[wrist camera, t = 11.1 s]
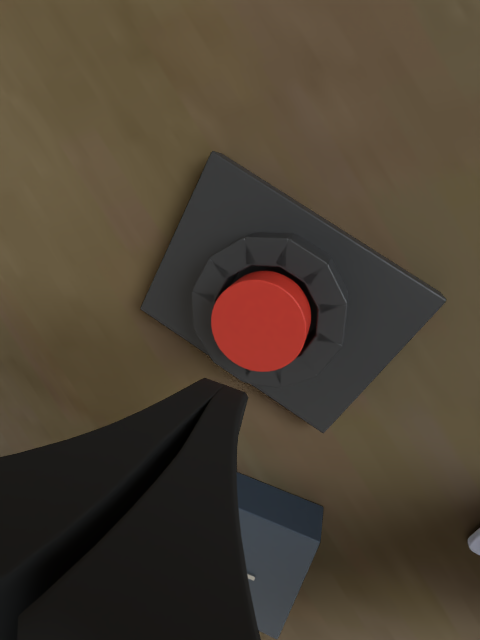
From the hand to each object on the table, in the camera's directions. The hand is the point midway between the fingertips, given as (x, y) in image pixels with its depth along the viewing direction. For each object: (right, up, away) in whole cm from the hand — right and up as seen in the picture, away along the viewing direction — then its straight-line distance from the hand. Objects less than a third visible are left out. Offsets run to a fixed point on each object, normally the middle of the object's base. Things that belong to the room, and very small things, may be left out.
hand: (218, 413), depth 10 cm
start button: (+2, +3, +6) cm, 7 cm away
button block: (+3, +4, +8) cm, 9 cm away
